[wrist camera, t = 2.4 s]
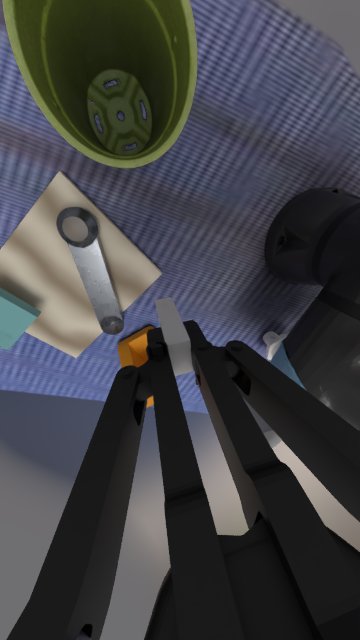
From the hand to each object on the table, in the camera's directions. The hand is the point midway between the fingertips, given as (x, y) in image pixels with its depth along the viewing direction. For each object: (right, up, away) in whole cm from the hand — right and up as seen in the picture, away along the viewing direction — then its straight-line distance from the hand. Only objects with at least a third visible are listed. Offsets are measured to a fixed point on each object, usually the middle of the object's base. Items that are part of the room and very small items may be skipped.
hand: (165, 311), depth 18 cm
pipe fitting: (+22, -5, +28) cm, 36 cm away
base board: (-15, +5, +12) cm, 20 cm away
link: (-11, +6, +11) cm, 16 cm away
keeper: (-23, +1, +11) cm, 25 cm away
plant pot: (-6, +22, +5) cm, 24 cm away
